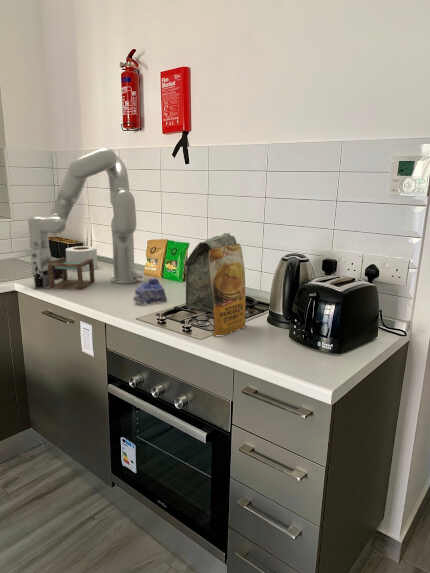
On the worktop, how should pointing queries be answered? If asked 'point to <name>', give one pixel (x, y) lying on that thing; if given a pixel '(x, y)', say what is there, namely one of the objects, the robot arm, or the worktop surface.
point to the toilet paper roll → (82, 256)
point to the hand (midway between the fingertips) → (42, 284)
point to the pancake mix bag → (227, 288)
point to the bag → (202, 272)
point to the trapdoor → (69, 267)
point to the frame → (67, 283)
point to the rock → (57, 271)
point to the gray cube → (44, 280)
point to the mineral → (150, 292)
